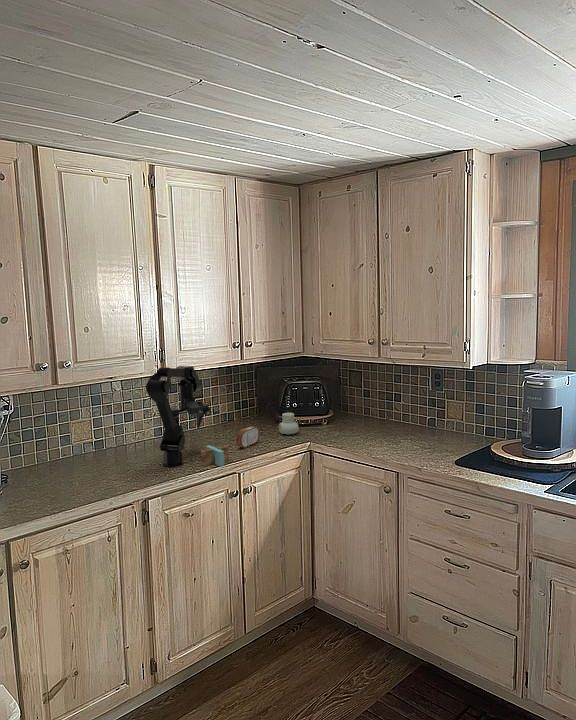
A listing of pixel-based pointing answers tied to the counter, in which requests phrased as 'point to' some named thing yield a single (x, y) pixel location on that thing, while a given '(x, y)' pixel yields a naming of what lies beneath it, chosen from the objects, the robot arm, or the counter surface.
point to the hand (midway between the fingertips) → (188, 429)
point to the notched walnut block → (208, 456)
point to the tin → (247, 436)
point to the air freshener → (288, 424)
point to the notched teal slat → (217, 455)
